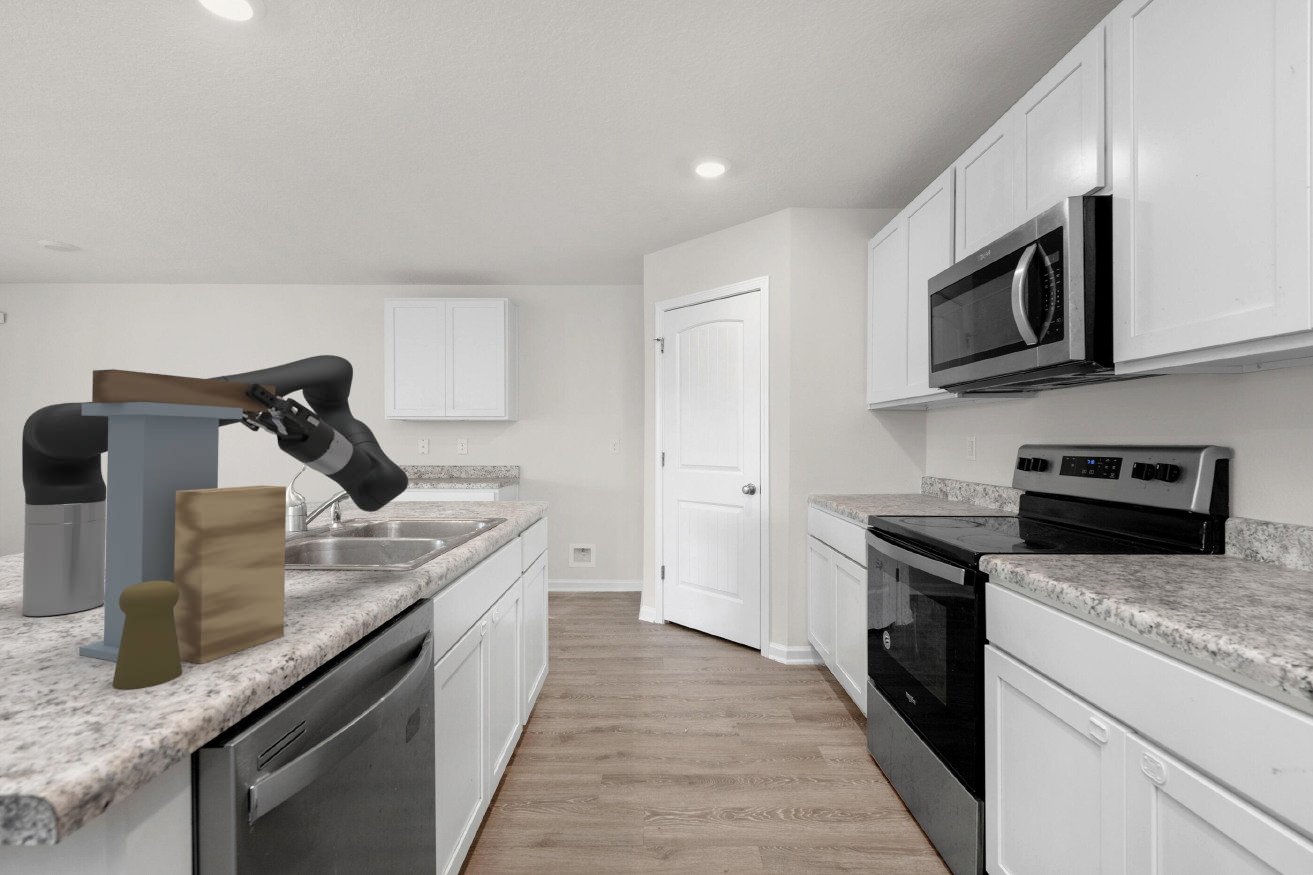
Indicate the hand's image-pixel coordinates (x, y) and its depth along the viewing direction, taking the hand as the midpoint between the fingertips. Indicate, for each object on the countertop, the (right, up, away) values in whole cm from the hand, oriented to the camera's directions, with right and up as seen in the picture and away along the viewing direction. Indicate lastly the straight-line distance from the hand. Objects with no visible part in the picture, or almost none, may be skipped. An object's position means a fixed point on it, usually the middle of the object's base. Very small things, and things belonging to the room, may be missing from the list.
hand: (233, 388), depth 87 cm
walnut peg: (-2, -3, -5) cm, 6 cm away
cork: (+5, -35, -20) cm, 41 cm away
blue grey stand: (-3, -35, -9) cm, 36 cm away
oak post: (+7, -35, -10) cm, 37 cm away
